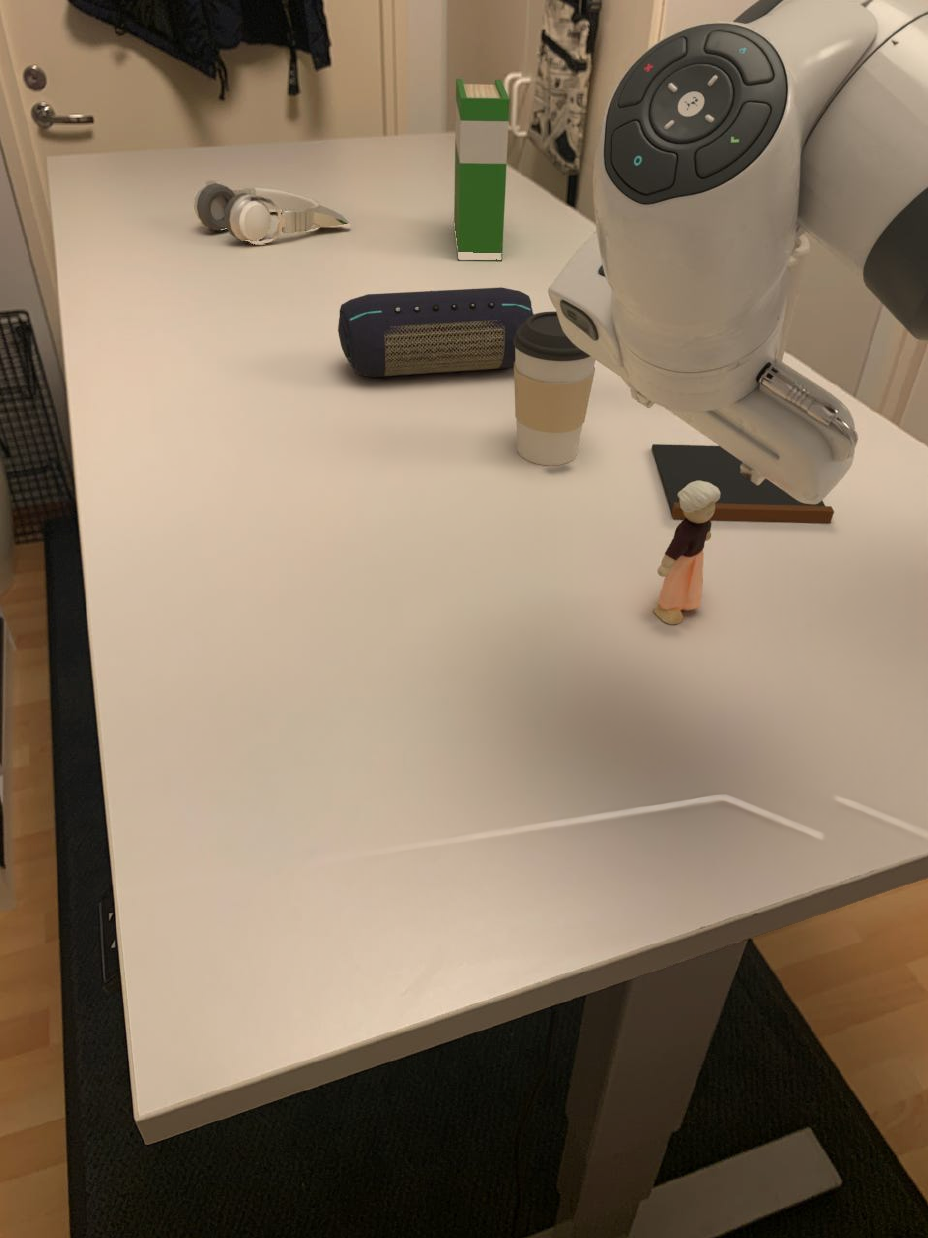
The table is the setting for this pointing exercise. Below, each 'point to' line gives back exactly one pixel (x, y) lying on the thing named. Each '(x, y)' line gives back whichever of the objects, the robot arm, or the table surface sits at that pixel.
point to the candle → (794, 285)
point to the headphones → (259, 211)
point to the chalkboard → (729, 487)
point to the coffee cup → (549, 390)
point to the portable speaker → (432, 331)
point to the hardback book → (480, 166)
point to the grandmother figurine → (687, 553)
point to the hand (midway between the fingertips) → (701, 432)
